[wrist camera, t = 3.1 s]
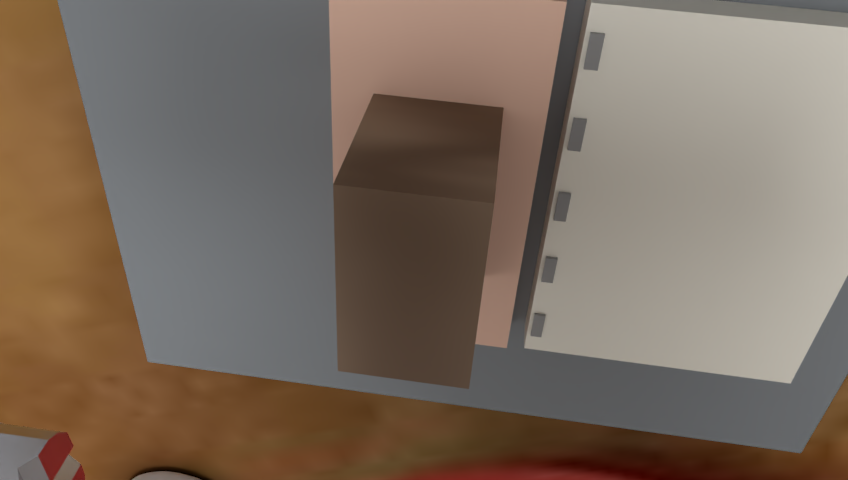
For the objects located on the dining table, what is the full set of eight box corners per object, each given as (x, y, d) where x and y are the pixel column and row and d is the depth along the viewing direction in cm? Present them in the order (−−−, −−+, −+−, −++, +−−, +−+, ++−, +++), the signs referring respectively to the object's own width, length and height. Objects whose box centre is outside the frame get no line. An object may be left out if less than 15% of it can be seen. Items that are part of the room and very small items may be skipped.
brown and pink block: (565, -13, 16) (574, 82, 12) (508, 324, 21) (500, 464, 17) (339, -35, 16) (270, 49, 12) (343, 303, 22) (299, 435, 18)
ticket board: (1126, -200, 14) (1230, -185, 12) (788, 417, 24) (811, 482, 22) (30, -280, 15) (-49, -279, 13) (165, 331, 26) (133, 385, 24)
